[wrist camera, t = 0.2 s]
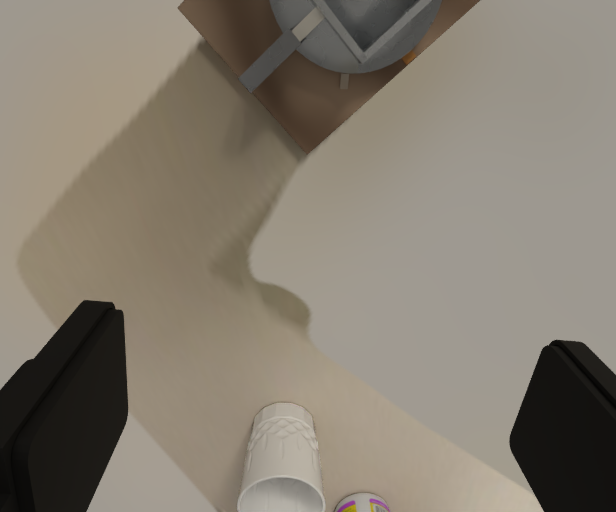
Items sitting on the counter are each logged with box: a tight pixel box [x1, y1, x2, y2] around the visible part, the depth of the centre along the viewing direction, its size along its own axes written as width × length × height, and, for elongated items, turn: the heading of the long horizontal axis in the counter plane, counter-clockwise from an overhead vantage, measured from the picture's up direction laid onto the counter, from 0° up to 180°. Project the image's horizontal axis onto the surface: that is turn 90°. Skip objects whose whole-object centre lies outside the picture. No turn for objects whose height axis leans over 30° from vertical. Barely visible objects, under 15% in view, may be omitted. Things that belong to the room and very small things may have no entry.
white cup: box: [237, 403, 326, 512], centre depth 46 cm, size 8×8×10 cm
